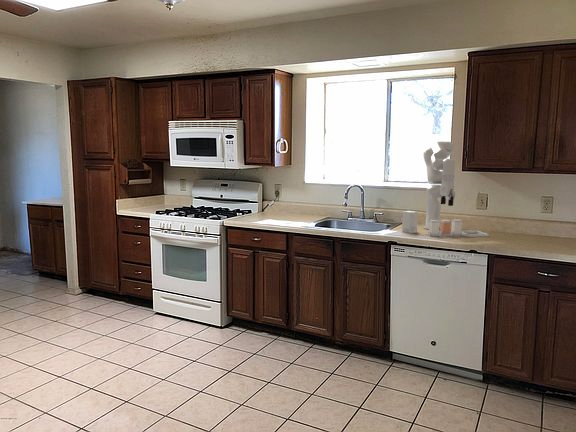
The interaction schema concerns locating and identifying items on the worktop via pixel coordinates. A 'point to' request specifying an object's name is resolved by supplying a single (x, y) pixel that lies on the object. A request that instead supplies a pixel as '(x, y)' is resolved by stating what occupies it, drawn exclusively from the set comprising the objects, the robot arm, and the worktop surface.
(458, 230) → the right fuse
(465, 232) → the tray
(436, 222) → the left fuse
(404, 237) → the worktop surface
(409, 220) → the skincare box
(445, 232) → the marked fuse
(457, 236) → the fuse board
